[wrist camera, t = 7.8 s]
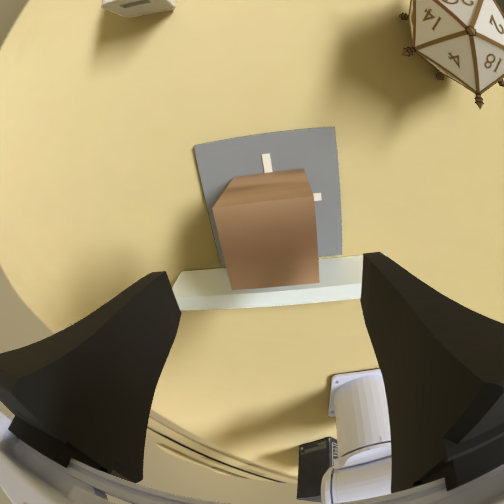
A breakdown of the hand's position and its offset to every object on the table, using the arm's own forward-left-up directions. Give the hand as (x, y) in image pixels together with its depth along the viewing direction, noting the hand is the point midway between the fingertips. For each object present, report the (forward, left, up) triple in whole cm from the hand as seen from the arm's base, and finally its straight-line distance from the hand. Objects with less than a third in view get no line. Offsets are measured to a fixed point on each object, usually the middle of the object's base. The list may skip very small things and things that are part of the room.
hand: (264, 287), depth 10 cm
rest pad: (0, 0, -10) cm, 10 cm away
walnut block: (0, 0, -10) cm, 10 cm away
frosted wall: (-5, 0, -10) cm, 11 cm away
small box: (-43, -5, -10) cm, 44 cm away
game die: (+11, -13, -10) cm, 20 cm away
